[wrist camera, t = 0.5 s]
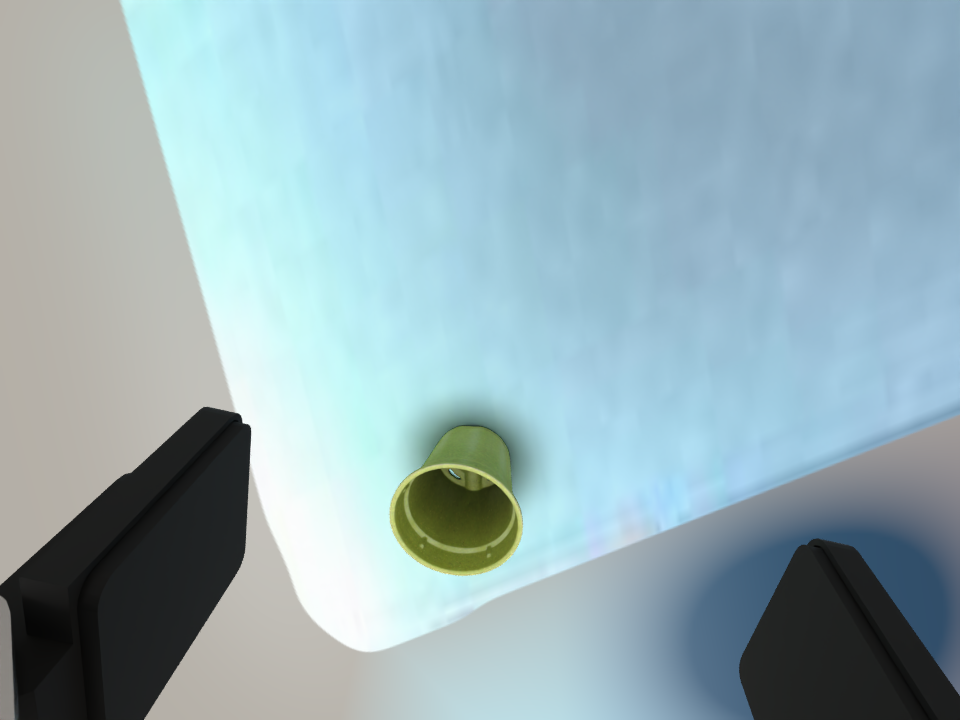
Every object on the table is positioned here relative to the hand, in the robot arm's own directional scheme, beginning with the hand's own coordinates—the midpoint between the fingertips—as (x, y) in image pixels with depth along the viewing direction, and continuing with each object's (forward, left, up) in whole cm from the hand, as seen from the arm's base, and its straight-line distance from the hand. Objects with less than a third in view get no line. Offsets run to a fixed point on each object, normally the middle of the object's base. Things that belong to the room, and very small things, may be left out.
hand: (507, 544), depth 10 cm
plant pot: (+9, +19, -35) cm, 41 cm away
